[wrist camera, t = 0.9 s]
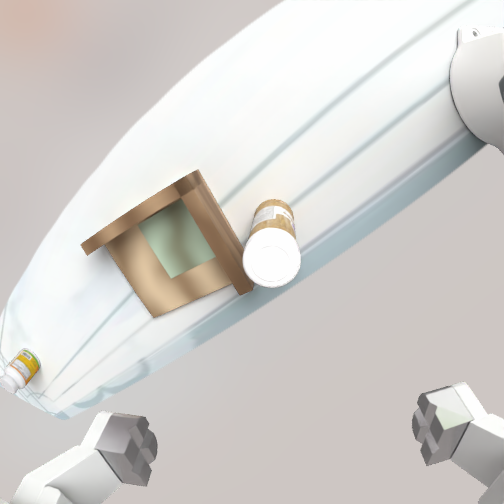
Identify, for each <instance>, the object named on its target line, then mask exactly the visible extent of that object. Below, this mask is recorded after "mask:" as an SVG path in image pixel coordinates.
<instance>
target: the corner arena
mask: <svg viewBox="0 0 504 504" xmlns="http://www.w3.org/2000/svg"><path fill="white" fill-rule="evenodd" d="M104 244H105V246H106V248H107V249H108V251H109V253H110V254H111V256H112V257H113V259H114V260H115V262H116V264H117V265H118V267H119V268H120V270H121V271H122V273H123V274H124V276H125V277H126V279H127V280H128V282H129V283H130V285H131V286H132V288H133V289H134V291H135V292H136V294H137V295H138V296H139V298H140V299H141V301H142V302H143V304H144V305H145V306H146V308H147V309H148V311H149V312H150V313H151V315H152V316H153V318H155V317H157V316H160V315H162V314H164V313H166V312H169V311H171V310H173V309H176V308H178V307H180V306H182V305H185V304H187V303H189V302H191V301H194V300H196V299H198V298H201V297H203V296H205V295H207V294H210V293H212V292H214V291H216V290H219V289H221V288H223V287H225V286H227V285H230V284H233V285H234V287H235V289H236V290H237V292H238V294H239V295H243V294H245V293H247V292H249V291H252V290H253V285H254V282H253V281H252V280H251V279H250V278H249V277H248V276H247V274H246V272H245V270H244V267H243V253H244V249H243V247H242V245H241V244H240V242H239V240H238V238H237V237H236V235H235V233H234V231H233V230H232V228H231V226H230V224H229V223H228V221H227V219H226V217H225V216H224V214H223V212H222V210H221V209H220V207H219V205H218V203H217V202H216V200H215V198H214V196H213V195H212V193H211V191H210V189H209V188H208V186H207V184H206V182H205V180H204V179H203V177H202V175H201V173H200V172H199V170H196V171H194V172H192V173H190V174H188V175H186V176H185V177H183V178H181V179H180V180H178V181H176V182H175V183H173V184H171V185H170V186H168V187H166V188H165V189H163V190H161V191H160V192H158V193H157V194H155V195H153V196H152V197H150V198H149V199H147V200H145V201H144V202H142V203H141V204H139V205H138V206H136V207H135V208H133V209H131V210H130V211H128V212H127V213H125V214H124V215H122V216H121V217H119V218H118V219H116V220H115V221H113V222H112V223H110V224H109V225H108V226H106V227H105V228H103V229H102V230H100V231H99V232H97V233H96V234H95V235H93V236H92V237H90V238H89V239H87V240H86V241H85V242H83V243H82V244H81V247H82V248H83V250H84V251H85V253H86V255H87V256H88V255H89V254H90V253H92V252H93V251H95V250H96V249H98V248H99V247H101V246H102V245H104Z"/></svg>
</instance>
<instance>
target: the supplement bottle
mask: <svg viewBox="0 0 504 504" xmlns="http://www.w3.org/2000/svg"><path fill="white" fill-rule="evenodd" d="M39 368H40V361H39V359H38V357H37V356H36V355H35V354H34V353H33V352H32V351H31V350H29V349H27V348H23V349H22V350H21V351H20V352H19V353H18V354H17V355H16V356H15V357H14V359H13V360H12V361H11V362H10V363H9V364H8V365H7V366H6V368H5V369H4V374H5V375H3V376H2V377H1V378H0V383H1V385H2V386H3V387H4V389H5V390H6V391H8V392H9V393H11V394H15V393H16V391H17V390H18V389H23V388H24V387H25V386H26V385H27V383H28V382H29V381H30V380H31V378H32V377H33V376H34V375H35V373H36V372H37V371H38V370H39Z"/></svg>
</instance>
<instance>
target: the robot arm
mask: <svg viewBox="0 0 504 504" xmlns="http://www.w3.org/2000/svg"><path fill="white" fill-rule="evenodd" d="M473 33H474V35H475V36H474V35H473ZM450 85H451V91H452V95H453V99H454V102H455V105H456V108H457V110H458V112H459V114H460V116H461V118H462V120H463V121H464V123H465V124H466V126H467V127H468V128H469V129H470V130H471V132H472V133H473V134H474V135H475V136H477V137H478V138H479V139H481V140H482V141H484V142H486V143H488V144H491V145H493V146H495V147H497V148H498V149H499V150H500V151H501V152H502V153H503V154H504V27H503V28H494V27H482V26H462V27H460V28H459V30H458V48H457V51H456V53H455V55H454V57H453V60H452V63H451V69H450ZM417 403H418V405H419V408H418V409H417V410H416V411H415V412H414V415H413V419H412V428H413V433H414V436H415V439H416V440H417V441H419V442H420V443H422V448H421V453H422V456H423V458H424V461H425V463H426V466H429V465H432V464H436V463H439V462H442V461H445V460H448V459H451V461H452V462H454V463H455V464H457V465H458V466H459V467H461V468H462V469H463V470H465V471H466V472H468V473H469V474H470V475H472V476H473V477H474V478H476V479H477V480H479V481H480V482H481V483H483V484H484V485H486V486H487V487H488V489H487V490H486V492H485V493H484V494H483V495H482V496H481V497H480V499H479V501H478V504H504V419H502V418H500V417H498V416H496V415H494V414H492V413H491V414H487V413H486V411H485V410H484V408H483V407H482V405H481V404H480V402H479V401H478V399H477V398H476V396H475V395H474V394H473V392H472V391H471V389H470V388H469V386H468V385H467V384H466V383H465V382H460V383H457V384H454V385H451V386H447V387H443V388H440V389H436V390H433V391H430V392H426V393H422V394H421V395H420V396H419V398H418V402H417ZM148 426H149V423H148V421H147V419H146V417H143V416H136V415H128V414H120V413H112V412H105V411H101V412H99V413H98V414H97V416H96V418H95V419H94V421H93V423H92V424H91V426H90V428H89V430H88V432H87V434H86V436H85V437H84V439H83V441H82V443H81V445H80V446H77V445H76V446H74V447H73V448H71V449H69V450H68V451H66V452H64V453H63V454H61V455H59V456H58V457H56V458H54V459H53V460H51V461H49V462H48V463H46V464H44V465H43V466H41V467H39V468H37V469H36V470H34V471H32V472H30V473H29V474H27V475H25V477H24V479H23V481H22V482H21V484H20V486H19V487H18V489H17V491H16V493H15V495H14V496H13V498H12V500H11V502H10V503H9V502H7V501H5V500H3V499H1V498H0V504H101V503H102V502H103V501H104V500H106V499H107V498H108V497H109V496H110V495H111V494H112V493H113V492H115V491H116V490H117V489H118V488H119V487H120V486H121V485H122V483H126V484H133V485H139V486H147V484H148V481H149V478H150V474H151V471H152V470H151V468H150V466H149V464H150V463H151V462H153V461H154V460H155V458H156V455H157V440H156V437H155V435H154V433H153V432H151V431H150V430H149V429H148Z"/></svg>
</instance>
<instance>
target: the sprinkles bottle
mask: <svg viewBox="0 0 504 504" xmlns="http://www.w3.org/2000/svg"><path fill="white" fill-rule="evenodd" d="M293 220H294V217H293V212H292V210H291V208H290V207H289V206H288V205H287V204H286V203H285V202H283V201H281V200H276V199H271V200H267V201H265V202H263V203H262V204H260V205H259V207H258V208H257V209H256V212H255V217H254V221H253V224H252V228H251V231H250V235H249V240H248V241H247V243H246V246H245V249H244V253H243V267H244V270H245V272H246V274H247V276H248V277H249V278H250V279H251V280H252V281H253V282H255V283H256V284H258V285H260V286H263V287H267V288H276V287H281V286H283V285H286V284H287V283H289V282H290V281H292V280H293V279H294V278H295V276H296V275H297V273H298V271H299V269H300V264H301V256H300V250H299V246H298V244H297V242H296V235H295V228H294V221H293Z"/></svg>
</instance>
